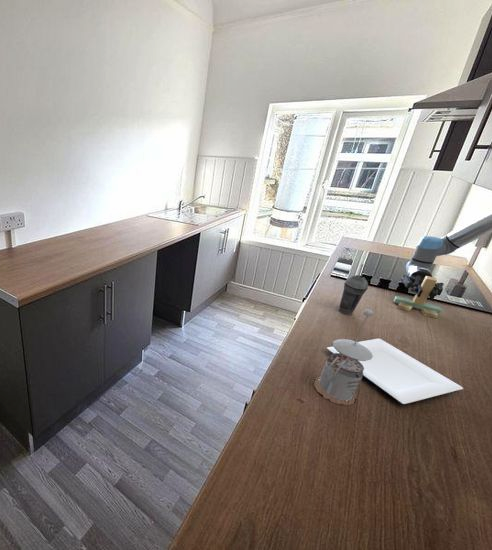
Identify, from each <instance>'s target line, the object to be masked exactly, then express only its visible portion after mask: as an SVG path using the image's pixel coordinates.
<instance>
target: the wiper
mask: <svg viewBox="0 0 492 550" xmlns="http://www.w3.org/2000/svg"><path fill="white" fill-rule="evenodd" d="M435 283H438V279H437V277H435V276H432V277H430V276H425V278H424V280H423V282H422V284H421V287H422V290H423V292H422V294H421V296H420V297H417V294H416V293H415V295H414V297H413V298H412V299H411V298H407V297H404V296H400V295H395V296H394V299H393V303H394V304H397V305H398V304H399V303H400V302H402V303H405V304H408V305H411V306H413V308H412V309H417V310H420V311H421V310H422V308H425V309H429V310H434V311H436V312H437V313H438V315H440V314H441V312H442V311H443V310H442V306H440V305H435V304H431V303H428V302H427V299H428V298H429V294H430V292H431V291H432V289H433V287H434V285H435Z"/></svg>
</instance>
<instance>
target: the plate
mask: <svg viewBox="0 0 492 550" xmlns="http://www.w3.org/2000/svg"><path fill="white" fill-rule="evenodd" d="M357 342H358V343H359V344H361V345H363V346H364V347H366V348H367V349H368V350H369V351H370V352H371V353H372V355H373V357H372V359H371V360H367V361H359V362H360V363H361V364H362V365H363V367H364V370H363V376H362V377H364V378H365V379H367V380H368V381H370V382H371V383H372V384H374V385H375V386H377V387H378V388H379V389H381V390H382V391H383V392H385V393H386V394H387V395H388V396H390V397H392V399H394V400H395V401H397V402H398V403H400V404H402V405H406V404H410V403H414V402H418V401H422V400H425V399H429V398H433V397H437V396H440V395H445V394H449V393H452V392H455V391H460V390H464V387H463V386H461V385H459V384H458V383H456V382H455V381H452V380H451V379H449V378H448V377H446V376H444V375H442V373H439V372H437V371H436V370H434V369H432V368H431V367H429V366H428V365H425V363H422V362H420V361H419V360H417V359H415V358H414V357H412V356H410V355H408V354H407V353H405V352H403V351H402V350H400V349H398V348H397V347H395V346H394V345H392V344H391V343H388V342H386V341H385V340H383V339H382V338H373V339H368V340H361V341H357ZM326 349H327V350H328V352H330V353H331V354H334V353H339V352H338V351H337V350H336V349H335V348H334V346H328V347H326Z"/></svg>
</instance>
